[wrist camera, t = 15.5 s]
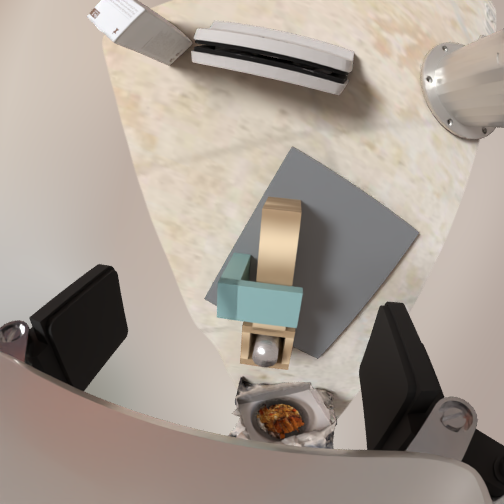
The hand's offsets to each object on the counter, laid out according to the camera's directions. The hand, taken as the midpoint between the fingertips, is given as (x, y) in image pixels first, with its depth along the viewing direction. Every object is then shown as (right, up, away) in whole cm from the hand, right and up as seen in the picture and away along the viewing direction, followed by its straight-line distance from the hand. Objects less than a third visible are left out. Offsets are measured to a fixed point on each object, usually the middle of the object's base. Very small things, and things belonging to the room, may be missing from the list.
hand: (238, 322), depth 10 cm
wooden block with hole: (+3, 0, +26) cm, 27 cm away
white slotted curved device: (+3, +24, +19) cm, 31 cm away
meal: (+6, -20, +35) cm, 40 cm away
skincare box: (-10, +28, +19) cm, 35 cm away
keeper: (+2, 0, +26) cm, 26 cm away
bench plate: (+7, +1, +26) cm, 27 cm away
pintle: (+3, -7, +29) cm, 30 cm away
